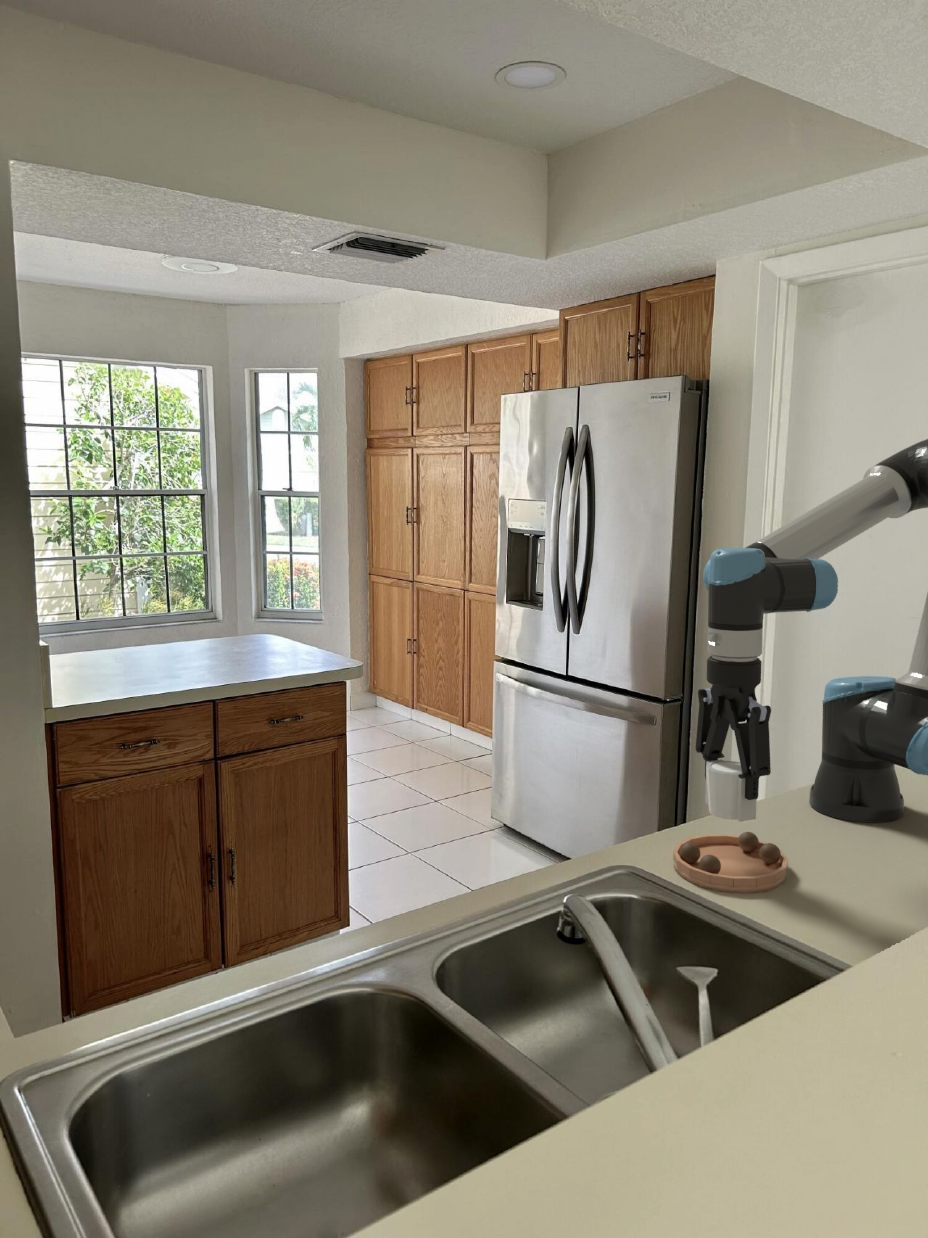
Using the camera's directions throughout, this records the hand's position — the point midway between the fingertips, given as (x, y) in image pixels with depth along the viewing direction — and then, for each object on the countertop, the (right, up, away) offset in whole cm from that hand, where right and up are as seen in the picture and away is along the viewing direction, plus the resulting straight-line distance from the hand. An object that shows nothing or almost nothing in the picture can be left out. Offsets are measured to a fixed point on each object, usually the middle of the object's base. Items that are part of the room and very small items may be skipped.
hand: (729, 810), depth 134 cm
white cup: (0, -1, 0) cm, 1 cm away
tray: (0, -9, +1) cm, 9 cm away
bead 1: (-5, -7, +1) cm, 9 cm away
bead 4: (+6, -6, +1) cm, 9 cm away
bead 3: (+4, -6, +5) cm, 9 cm away
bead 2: (-4, -7, -3) cm, 9 cm away
